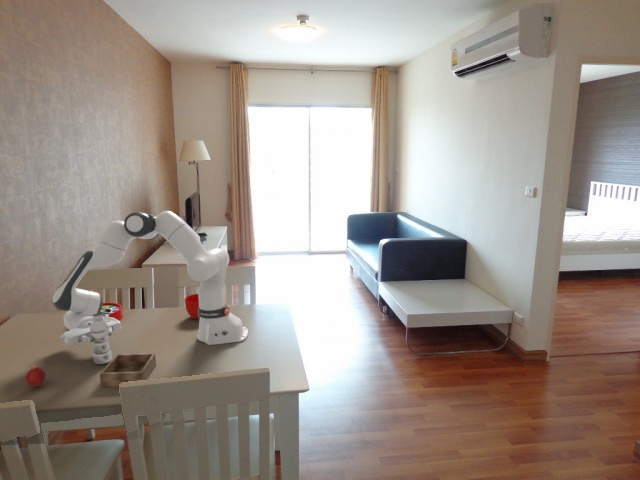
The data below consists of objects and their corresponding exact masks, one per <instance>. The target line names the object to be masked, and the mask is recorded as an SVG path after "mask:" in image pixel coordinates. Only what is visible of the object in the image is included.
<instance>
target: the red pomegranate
mask: <svg viewBox="0 0 640 480" xmlns="http://www.w3.org/2000/svg"><path fill="white" fill-rule="evenodd" d="M45 379H46V372H45V371H44V369H42V368H41V367H37V366H35V365H32V366H31V369H29V370H28V372H27V373H26V374H25V379H24V380H25V382H26V384H27V385H28V386H31V387H35V388H39V387H40V385H41V386H42V384H43V383H44V382H45Z"/></svg>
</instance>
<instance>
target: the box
mask: <svg viewBox="0 0 640 480" xmlns="http://www.w3.org/2000/svg"><path fill="white" fill-rule="evenodd" d="M156 358H157V357H156V353H155V352H154V353H153V352H152V353H119V354H115V355H114V357H112V359H111V361H110V362H109V363H107V365H106V366H105V367H104V368H103V370H102V371H101V372H100V373H99V378H100V387H101V386H113V387H120V386H119V384H120V383H122V382H128V381H138V380H146V379H147V380H148V379H149V378H150V377H151V374H152V372H153V371H154V369H155V368H156V366H157V360H156Z"/></svg>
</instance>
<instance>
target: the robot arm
mask: <svg viewBox="0 0 640 480" xmlns="http://www.w3.org/2000/svg"><path fill="white" fill-rule="evenodd" d="M159 235H160V236H161V237H163V238H164V239H165V240H166V241H167V242H168V243H169V244H170V245H171V246H172V247H173V248H174V249H175V250H176V252H178V253H179V254H180V256H181V257H182V260H183V261H184V262H185V264H186V266H187V270H186V271H187V274H188V276H189V277H190V278H191V280H193V281H195V282H200V284H199V287H198V289H197V290H198V291H197V294H198V298H199V307H198V317H199V319H198V321H199V322H198V331H197V335H196V339H197V340H198V341H199V342H201V343H205V344H206V345H208V346H212V345H214V346H215V345H223V344H229V343H231V344H232V343H239V342H243V341H245V340H246V339H247V338H248V335H249V329H248V328H247V327H246V326H244V325H243V322H242V320H241V318H239V317H238V316H236V315H234V313H232V312H230V311H231V310H230V305H229V304H228V305H227V304H225V283H226V277H227V270H228V265H229V263H230V255H229V253H228V252H227V250H226V249H223V248H222V247H221V248H220V247H217V248H215V247H213V248H210V249H209V250H206V249H205V247H204V246H203V244H202V242H201V237H200V235H199V234H198V233H197V232H196V231H195V230H194V229H193V228H192V227H191V226H190V225H189V224H188V223H187V222H186V221H185V220H184V219H182V218H181V217H180V216H179V215H177V214H176V213H174V212H173V211H170V210H164V211H162V212H160V213H159V214H158V215H156V216H154V215H153V214H149V213H146V212H143V211H134V212H131V213H129V214H128V215H127V216H126V217H125V218H124V221H123V220H113V221H112V222H110V224H109V225H108V226H107V228H106V229H105V231H104V232H103V234H102V236H101V237H100V239H99V242H98V244H97V245H96V246H95V247H94V248H92V249H91V250H89V251H85V252H84V253H83V254H82V255H81V257H80V258H79V259H78V261H77V262H76V264H75V265H74V266H73V268H72V269H71V271H70V272H69V273H68V275H67V277H66V278H65V279H64V280H63V282H62V283H61V285H60V286H58V288H56V290H55V291H54V293H53V295H52V297H51V298H52V299H51V303H52V305H53V306H54V308H55V309H56V310H58V311H60V312H61V311H64V312H65V313H64V315H63V324H64V326H65V328H66V329H68V330H66V331H65V332H64V333H63V334H60V335H59V337H60V339H61V340H64V342H65V344H66V345H67V346H69V347H70V346H74V345H78V344H82V343H89V344H91V343H93V337H92V336H91V333H90V326H91V324H92V323H93V315H94V314H97V313H100V311H101V309H102V306H103V303H104V302H103V298H102V296H101V294H100V293H99V292H97V291H92V290H88V289H82V288H78V285H79V284H80V282H81V280H82V279H83V277H84V276H85V274H86V273H87V272H88V271H89V270H92V269H95V268H100V267H111V266H114V265H117V264H118V263H119V262H121V261H122V260H123V258H124V256H125V254H126V252H127V250H128V248H129V246H130V244H131V242H132V241H133V240H135V239H137V240H154V239H155V238H157V237H159ZM103 317H104V319H103V320H104V321H105V322H106V323H107V324H108V326H109V330H108V337H112V336H114V333H115V332H119V331H121V329H122V324H121V321H119V320H117V319H115V318H112V317H109V315H103Z"/></svg>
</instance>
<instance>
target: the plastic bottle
mask: <svg viewBox="0 0 640 480" xmlns="http://www.w3.org/2000/svg"><path fill="white" fill-rule="evenodd" d="M103 319H104V317H103V313H97V314H94V315H93V323H92V324H91V326H90V333H91V336H92V337H93V342H92V344H93V356H92V357H93V362H94V363H95V364H96V365H106V364H109V362H110V361H111V360H112V359H113V353H112V350H111V345H110V341H109V336H108V330H109V326H108V324H107V323H106V322H105V321H104V320H103Z"/></svg>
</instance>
